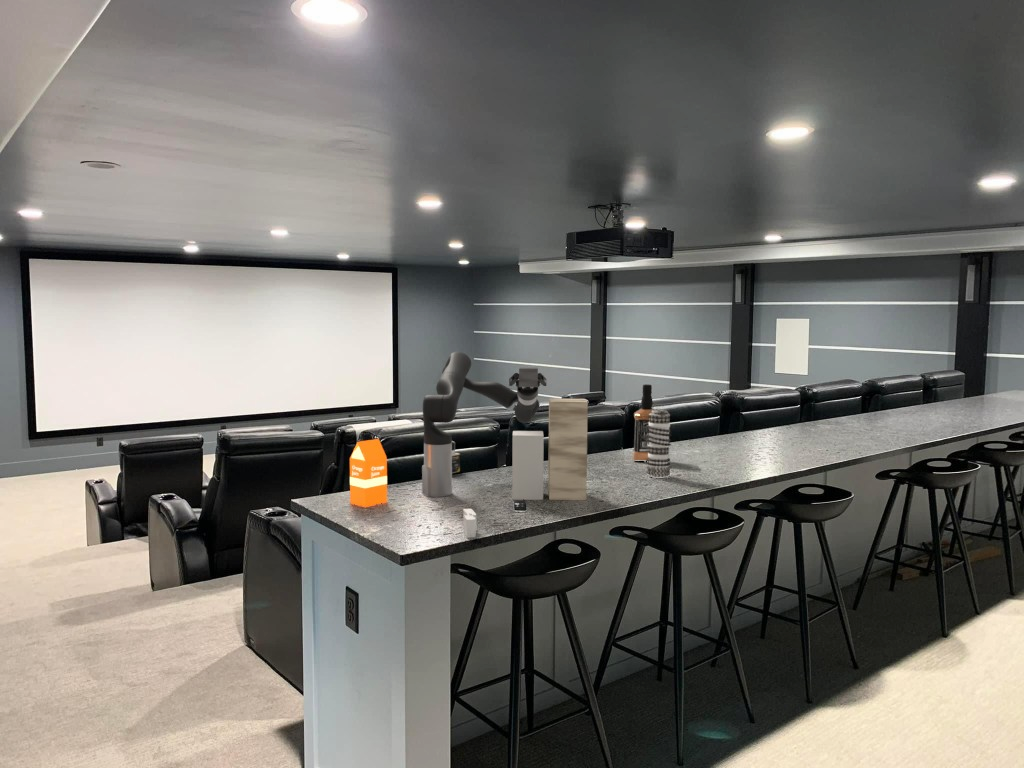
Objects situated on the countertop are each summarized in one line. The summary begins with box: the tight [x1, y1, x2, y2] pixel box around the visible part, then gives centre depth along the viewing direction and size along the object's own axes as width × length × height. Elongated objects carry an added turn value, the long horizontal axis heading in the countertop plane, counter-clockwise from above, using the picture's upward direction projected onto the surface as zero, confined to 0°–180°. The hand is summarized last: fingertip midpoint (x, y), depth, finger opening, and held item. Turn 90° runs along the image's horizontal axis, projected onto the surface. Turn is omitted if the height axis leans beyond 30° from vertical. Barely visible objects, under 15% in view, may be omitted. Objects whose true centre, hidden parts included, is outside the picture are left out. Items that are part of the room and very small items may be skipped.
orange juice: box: [349, 438, 388, 508], centre depth 231 cm, size 8×9×20 cm
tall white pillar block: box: [511, 430, 545, 501], centre depth 241 cm, size 10×10×21 cm
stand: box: [547, 398, 589, 501], centre depth 241 cm, size 10×12×32 cm
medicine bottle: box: [452, 440, 461, 474], centre depth 281 cm, size 7×7×12 cm
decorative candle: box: [646, 409, 672, 477], centre depth 274 cm, size 9×9×25 cm
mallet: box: [518, 366, 539, 388], centre depth 244 cm, size 19×6×6 cm, turn 179°
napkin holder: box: [462, 508, 477, 539], centre depth 200 cm, size 15×11×6 cm
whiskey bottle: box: [632, 384, 654, 461], centre depth 307 cm, size 10×10×32 cm
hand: (528, 370), depth 249 cm, fingers closed on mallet, 3 cm apart
